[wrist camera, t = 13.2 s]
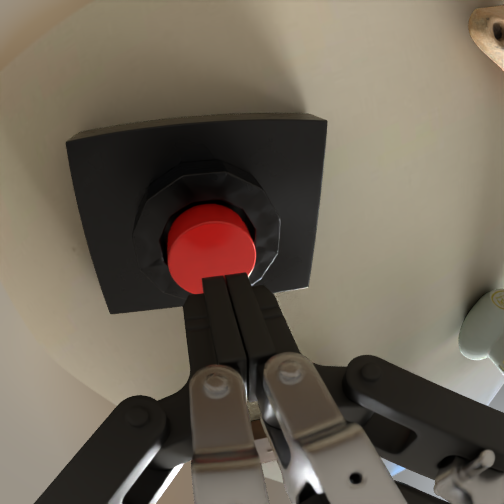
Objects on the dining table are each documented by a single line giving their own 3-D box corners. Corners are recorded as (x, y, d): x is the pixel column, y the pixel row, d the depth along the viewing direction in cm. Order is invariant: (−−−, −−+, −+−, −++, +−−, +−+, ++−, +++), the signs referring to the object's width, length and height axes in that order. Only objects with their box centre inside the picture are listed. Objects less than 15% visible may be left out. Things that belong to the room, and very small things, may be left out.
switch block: (113, 291, 18) (107, 337, 15) (78, 132, 13) (51, 152, 10) (296, 267, 21) (320, 307, 18) (309, 113, 15) (347, 128, 12)
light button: (172, 277, 15) (174, 301, 13) (162, 207, 13) (161, 227, 11) (247, 267, 15) (255, 290, 14) (247, 199, 13) (257, 217, 12)
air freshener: (508, 281, 32) (552, 326, 24) (483, 325, 37) (520, 370, 28) (470, 290, 30) (522, 347, 21) (441, 341, 34) (482, 396, 26)
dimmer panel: (246, 450, 37) (250, 467, 35) (245, 422, 32) (251, 441, 29) (332, 428, 40) (339, 443, 37) (349, 395, 34) (358, 412, 32)
